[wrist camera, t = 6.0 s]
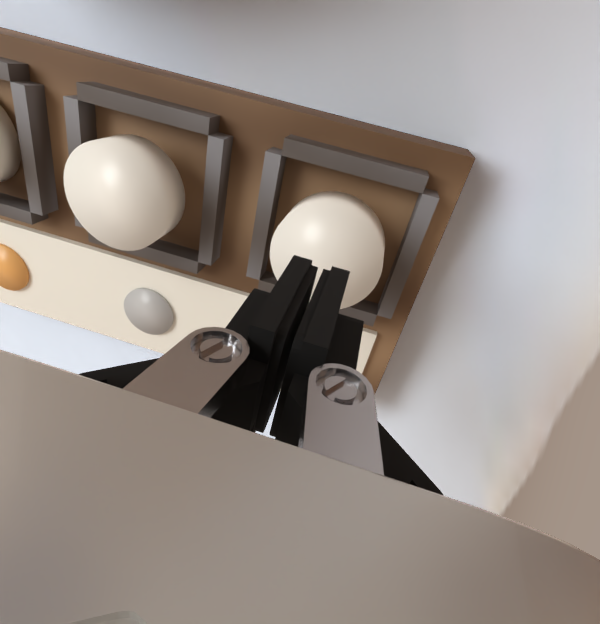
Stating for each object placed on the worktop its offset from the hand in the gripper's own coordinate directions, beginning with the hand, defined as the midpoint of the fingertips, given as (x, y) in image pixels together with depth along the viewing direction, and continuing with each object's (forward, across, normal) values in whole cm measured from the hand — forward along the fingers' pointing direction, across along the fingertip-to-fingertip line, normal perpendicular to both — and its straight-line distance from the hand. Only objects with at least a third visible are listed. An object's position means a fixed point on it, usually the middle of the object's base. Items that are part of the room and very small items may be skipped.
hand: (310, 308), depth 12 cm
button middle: (+4, +8, 0) cm, 9 cm away
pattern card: (+6, +8, +6) cm, 12 cm away
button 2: (+4, 0, 0) cm, 5 cm away
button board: (+8, +8, +2) cm, 12 cm away
